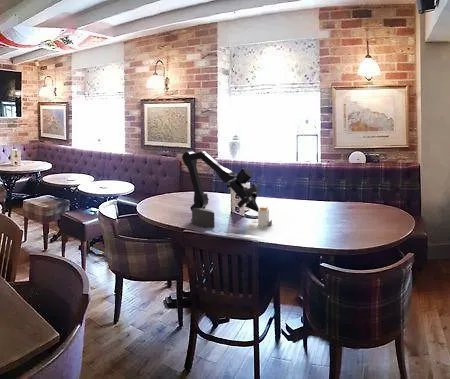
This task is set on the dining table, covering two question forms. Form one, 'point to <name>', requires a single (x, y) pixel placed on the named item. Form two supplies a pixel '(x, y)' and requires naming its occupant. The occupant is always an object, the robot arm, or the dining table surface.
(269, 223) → the switch board
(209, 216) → the leaning round-cornered charcoal block
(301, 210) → the dining table surface
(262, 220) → the white bottle
